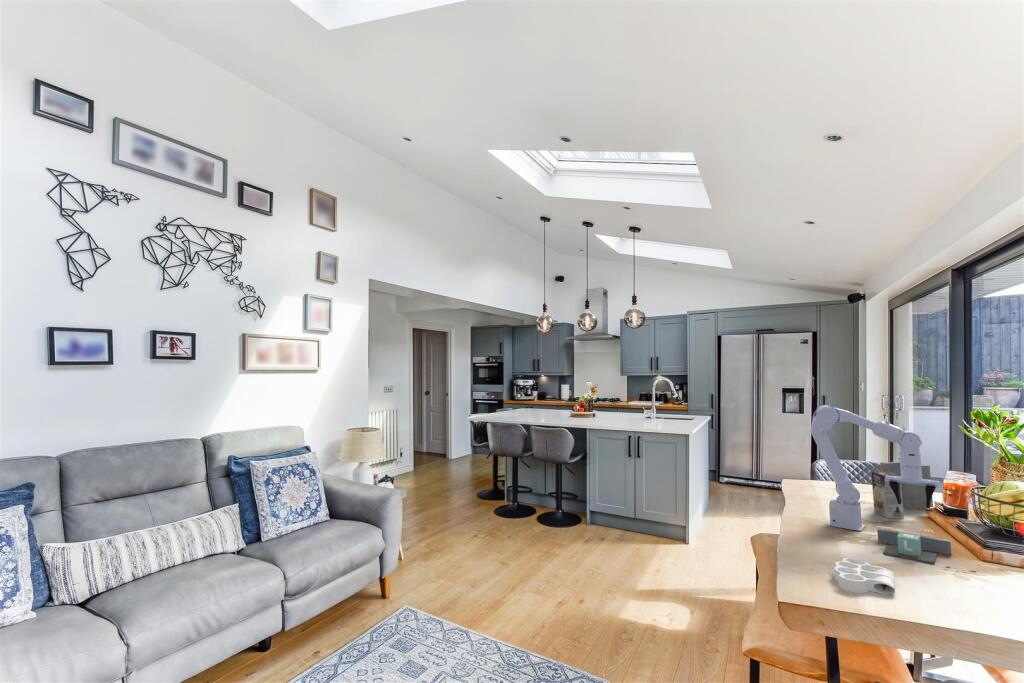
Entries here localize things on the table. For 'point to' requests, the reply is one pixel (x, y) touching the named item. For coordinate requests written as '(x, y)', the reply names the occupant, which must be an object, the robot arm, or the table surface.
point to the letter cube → (909, 544)
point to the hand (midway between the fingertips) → (913, 505)
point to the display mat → (924, 556)
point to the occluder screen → (926, 542)
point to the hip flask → (910, 486)
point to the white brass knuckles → (862, 576)
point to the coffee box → (885, 496)
